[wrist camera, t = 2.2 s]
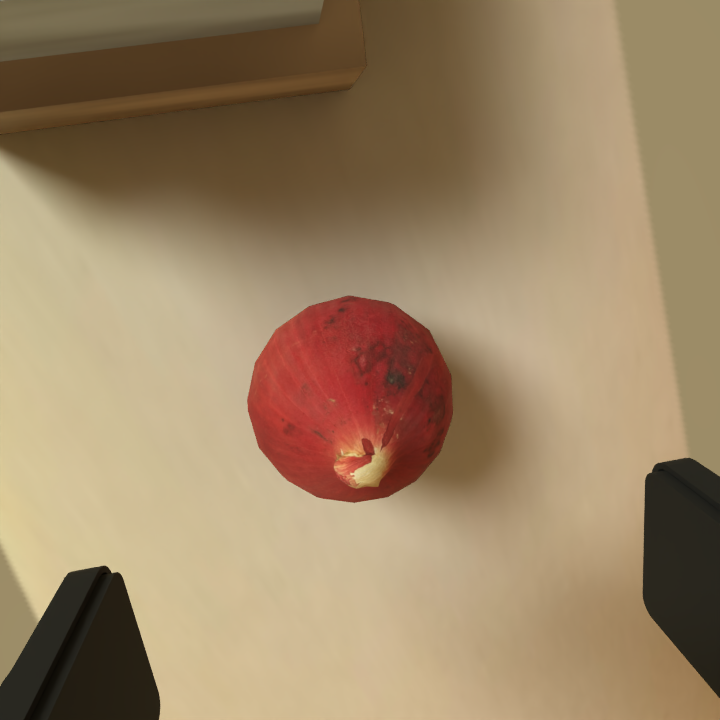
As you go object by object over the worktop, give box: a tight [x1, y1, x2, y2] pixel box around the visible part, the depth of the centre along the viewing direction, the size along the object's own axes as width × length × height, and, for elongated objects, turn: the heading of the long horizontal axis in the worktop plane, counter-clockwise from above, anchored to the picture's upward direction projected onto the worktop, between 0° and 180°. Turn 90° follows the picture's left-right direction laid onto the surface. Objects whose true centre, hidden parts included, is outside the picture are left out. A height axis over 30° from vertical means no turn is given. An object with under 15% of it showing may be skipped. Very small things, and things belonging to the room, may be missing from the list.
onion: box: [247, 296, 453, 503], centre depth 16 cm, size 6×6×8 cm
